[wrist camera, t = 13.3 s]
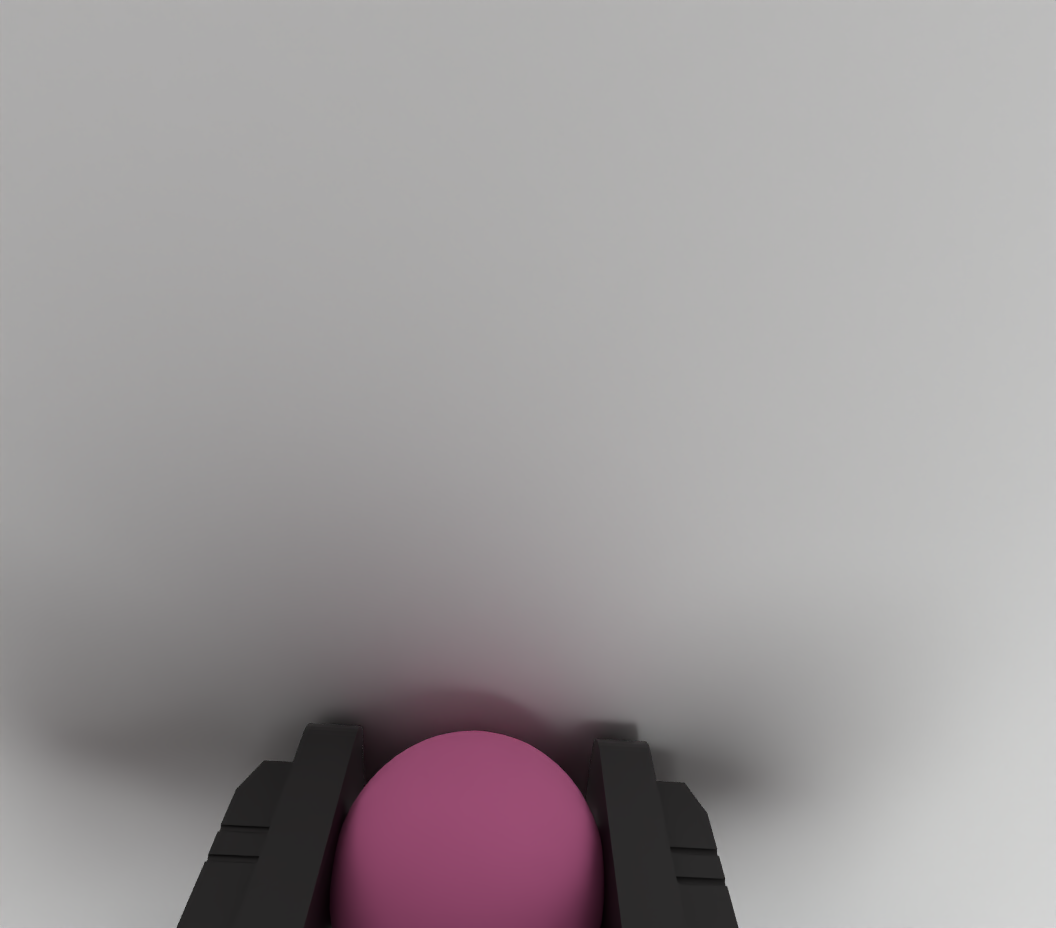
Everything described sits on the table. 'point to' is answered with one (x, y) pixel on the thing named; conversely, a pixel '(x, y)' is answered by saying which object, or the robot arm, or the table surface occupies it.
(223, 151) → the table surface
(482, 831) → the ball
